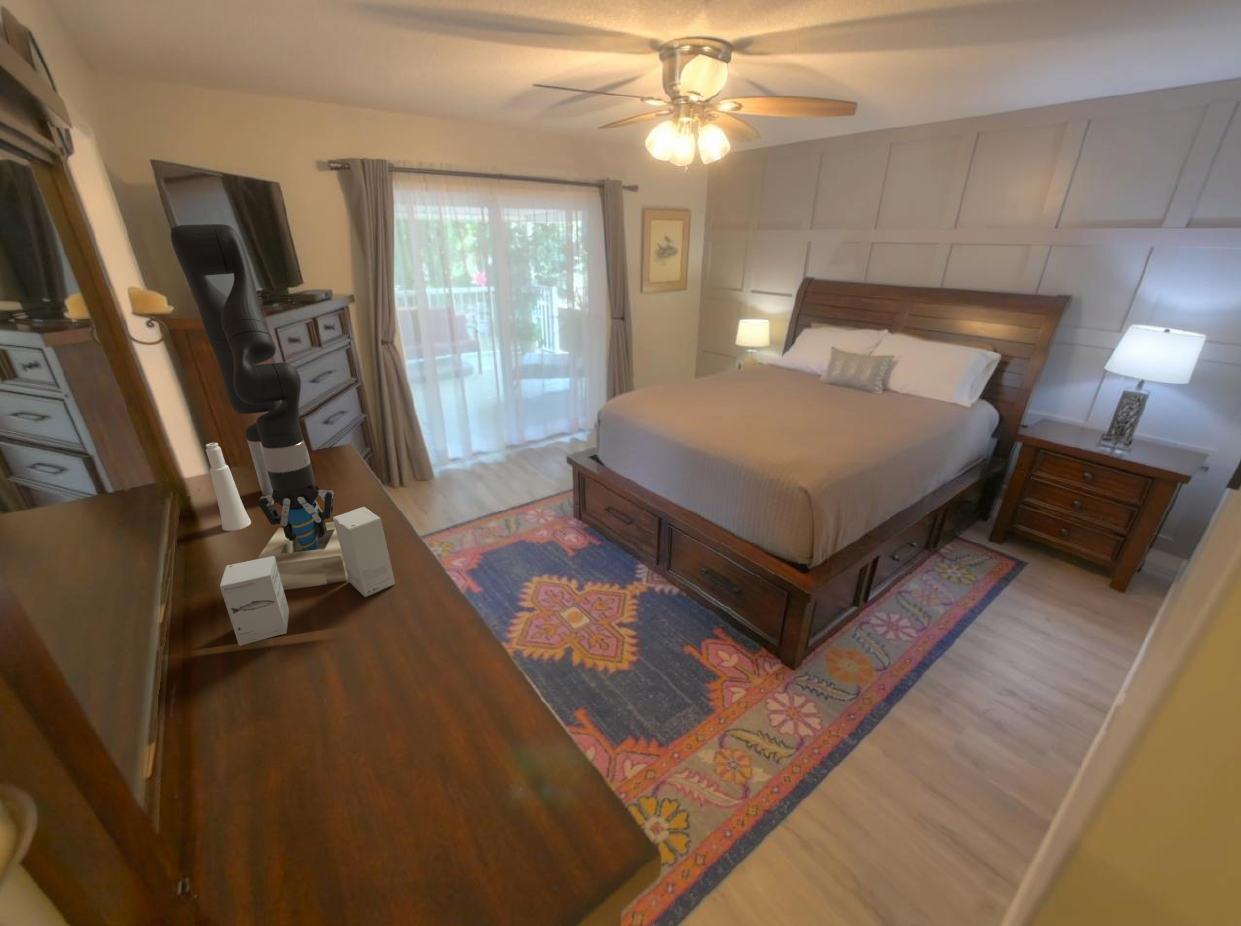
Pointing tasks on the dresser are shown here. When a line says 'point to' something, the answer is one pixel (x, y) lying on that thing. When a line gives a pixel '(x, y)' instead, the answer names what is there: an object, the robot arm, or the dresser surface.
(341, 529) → the skincare box
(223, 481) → the cosmetic bottle
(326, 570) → the socket block
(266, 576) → the supplement box
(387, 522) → the dresser surface
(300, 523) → the ornament
